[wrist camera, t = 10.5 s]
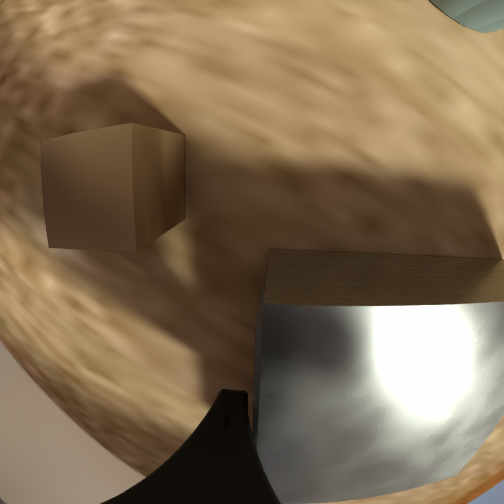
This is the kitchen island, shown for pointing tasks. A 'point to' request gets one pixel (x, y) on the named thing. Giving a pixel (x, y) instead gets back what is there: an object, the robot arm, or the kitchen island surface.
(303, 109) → the kitchen island surface
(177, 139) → the brown cardboard cube
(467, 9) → the cup
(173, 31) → the kitchen island surface
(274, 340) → the shiny gray metal block
